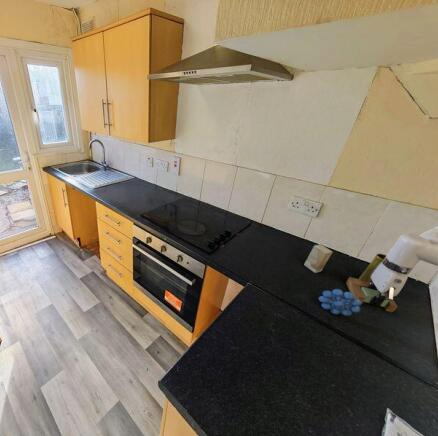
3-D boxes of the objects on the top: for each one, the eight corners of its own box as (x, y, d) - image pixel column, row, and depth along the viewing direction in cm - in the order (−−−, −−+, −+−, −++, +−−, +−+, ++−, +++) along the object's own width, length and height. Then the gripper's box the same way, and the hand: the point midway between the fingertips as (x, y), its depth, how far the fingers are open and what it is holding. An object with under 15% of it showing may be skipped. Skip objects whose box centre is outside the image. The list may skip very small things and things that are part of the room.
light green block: (378, 297, 94) (383, 291, 92) (384, 307, 90) (389, 301, 88) (358, 292, 96) (362, 286, 94) (362, 301, 92) (367, 295, 90)
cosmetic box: (303, 265, 112) (313, 245, 106) (309, 263, 113) (319, 243, 107) (315, 273, 107) (326, 253, 101) (322, 271, 108) (333, 251, 102)
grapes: (352, 315, 87) (368, 293, 81) (350, 326, 83) (367, 304, 77) (317, 298, 94) (329, 276, 88) (313, 307, 90) (326, 286, 84)
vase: (374, 280, 104) (392, 256, 97) (377, 288, 99) (396, 263, 92) (357, 275, 107) (373, 251, 100) (360, 283, 102) (376, 258, 95)
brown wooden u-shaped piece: (378, 290, 98) (383, 285, 97) (392, 312, 89) (397, 306, 87) (345, 282, 102) (349, 276, 100) (355, 302, 92) (359, 296, 91)
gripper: (424, 283, 76) (393, 318, 85) (397, 254, 89) (373, 287, 98) (395, 277, 78) (368, 312, 87) (374, 249, 92) (352, 282, 101)
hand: (371, 298), depth 93 cm, fingers closed on light green block, 5 cm apart
